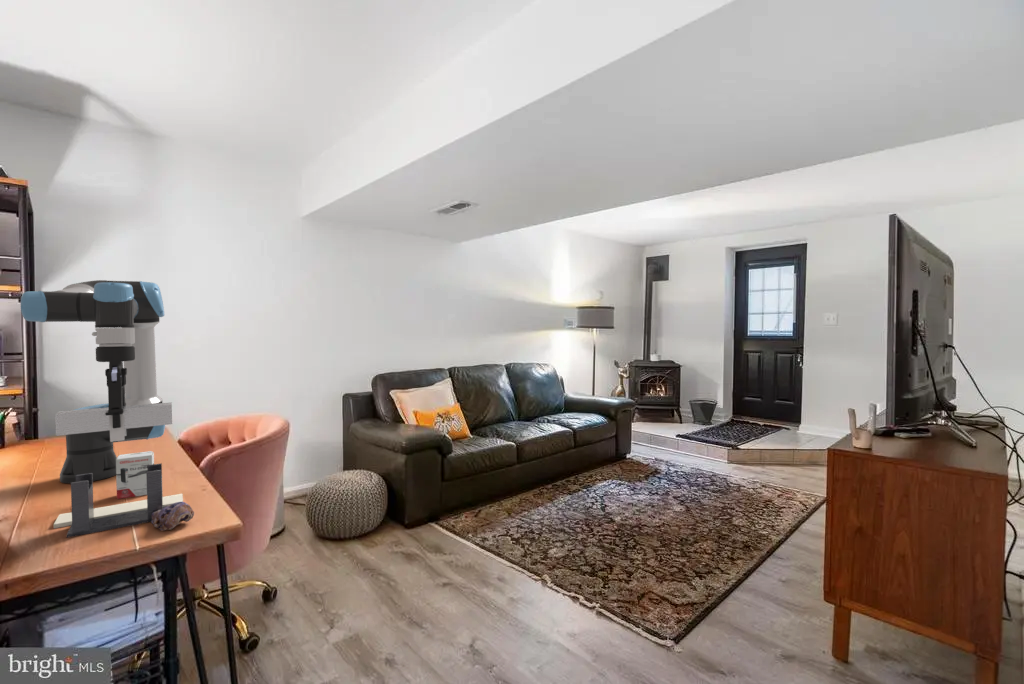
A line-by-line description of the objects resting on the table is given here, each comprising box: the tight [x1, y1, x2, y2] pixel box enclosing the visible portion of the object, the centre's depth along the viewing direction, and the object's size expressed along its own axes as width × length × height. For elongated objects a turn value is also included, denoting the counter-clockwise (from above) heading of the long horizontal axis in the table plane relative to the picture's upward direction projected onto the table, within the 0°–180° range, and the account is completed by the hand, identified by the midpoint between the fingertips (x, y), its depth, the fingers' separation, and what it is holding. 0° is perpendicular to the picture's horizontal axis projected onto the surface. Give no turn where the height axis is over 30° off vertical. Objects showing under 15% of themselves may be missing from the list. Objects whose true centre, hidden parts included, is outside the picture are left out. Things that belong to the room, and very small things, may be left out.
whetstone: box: [54, 402, 173, 436], centre depth 120 cm, size 5×22×5 cm, turn 126°
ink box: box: [115, 450, 155, 500], centre depth 141 cm, size 8×5×12 cm, turn 123°
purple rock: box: [151, 501, 195, 532], centre depth 119 cm, size 12×8×6 cm, turn 57°
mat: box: [53, 493, 184, 529], centre depth 128 cm, size 8×26×1 cm, turn 126°
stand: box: [66, 462, 166, 538], centre depth 120 cm, size 8×19×12 cm, turn 126°
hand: (118, 438), depth 120 cm, fingers closed on whetstone, 5 cm apart
